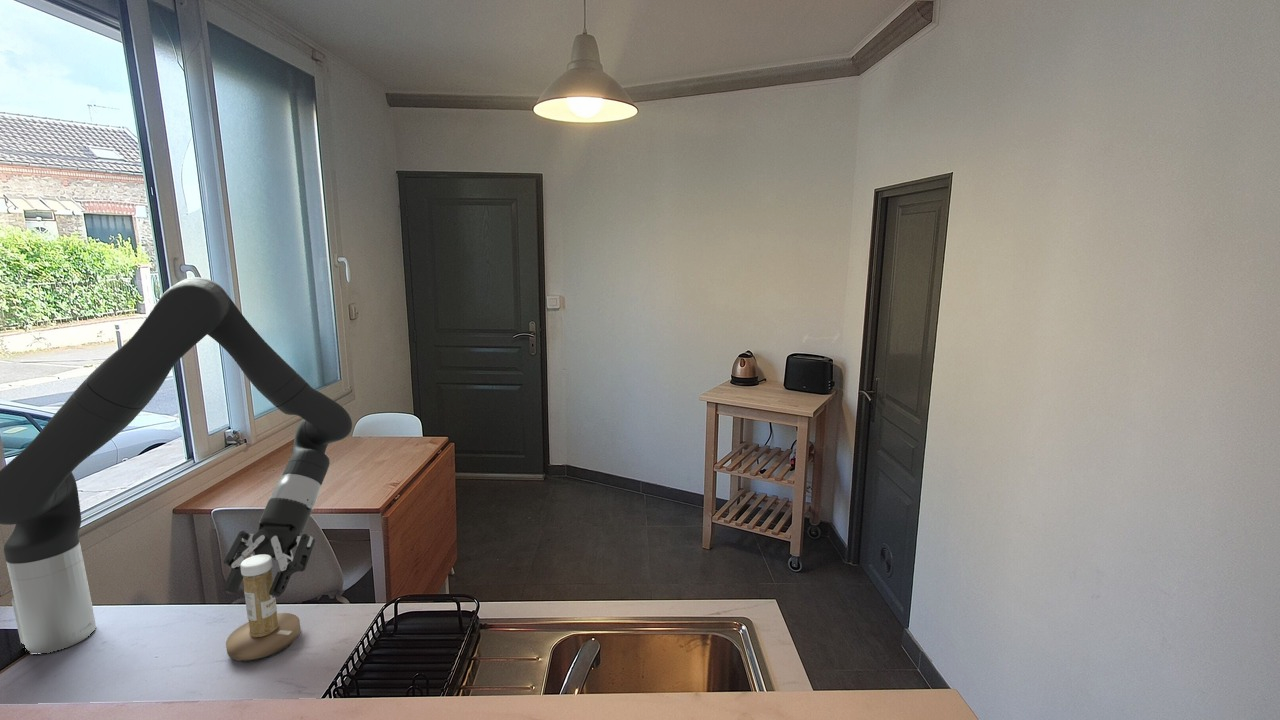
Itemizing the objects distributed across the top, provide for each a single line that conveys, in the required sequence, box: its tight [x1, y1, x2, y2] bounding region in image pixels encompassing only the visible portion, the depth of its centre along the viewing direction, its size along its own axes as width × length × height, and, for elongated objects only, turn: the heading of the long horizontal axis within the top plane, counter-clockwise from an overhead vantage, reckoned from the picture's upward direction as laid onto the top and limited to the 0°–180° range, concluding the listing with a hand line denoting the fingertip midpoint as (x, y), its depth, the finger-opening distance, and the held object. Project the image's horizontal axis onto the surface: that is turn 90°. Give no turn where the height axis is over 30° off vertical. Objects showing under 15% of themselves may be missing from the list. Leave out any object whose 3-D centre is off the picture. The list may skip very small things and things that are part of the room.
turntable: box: [225, 612, 302, 661], centre depth 103 cm, size 11×11×2 cm
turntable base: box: [238, 641, 294, 663], centre depth 103 cm, size 9×9×1 cm
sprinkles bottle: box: [241, 554, 279, 637], centre depth 102 cm, size 5×5×13 cm
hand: (251, 594), depth 100 cm, fingers open, 8 cm apart
